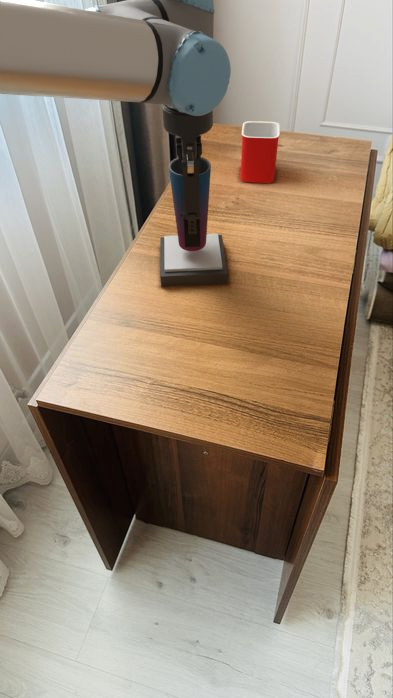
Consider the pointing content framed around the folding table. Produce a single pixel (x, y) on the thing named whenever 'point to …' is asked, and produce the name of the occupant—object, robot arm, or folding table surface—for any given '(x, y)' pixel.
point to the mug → (259, 151)
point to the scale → (192, 263)
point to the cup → (179, 200)
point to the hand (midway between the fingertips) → (191, 234)
